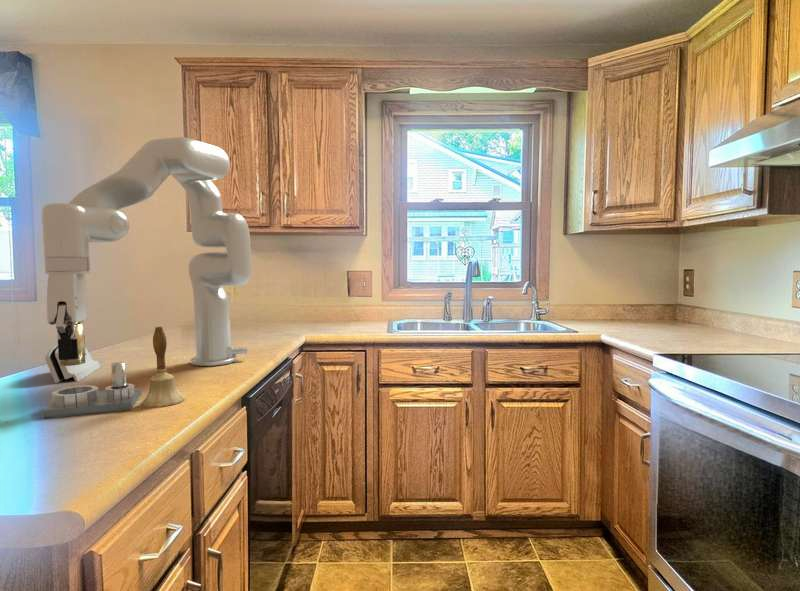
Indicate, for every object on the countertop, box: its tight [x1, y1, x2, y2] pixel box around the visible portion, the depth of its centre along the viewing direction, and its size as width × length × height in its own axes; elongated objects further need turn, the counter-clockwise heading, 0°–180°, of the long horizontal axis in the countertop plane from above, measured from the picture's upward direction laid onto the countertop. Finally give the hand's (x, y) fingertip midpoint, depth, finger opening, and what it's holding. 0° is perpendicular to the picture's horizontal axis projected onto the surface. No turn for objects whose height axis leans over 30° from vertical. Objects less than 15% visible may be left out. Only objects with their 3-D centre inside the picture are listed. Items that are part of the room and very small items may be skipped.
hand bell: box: [141, 326, 186, 408], centre depth 105 cm, size 8×8×16 cm
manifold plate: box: [42, 361, 142, 419], centre depth 103 cm, size 15×12×8 cm
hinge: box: [44, 344, 101, 384], centre depth 130 cm, size 17×5×10 cm, turn 13°
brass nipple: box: [59, 322, 86, 366], centre depth 101 cm, size 4×4×8 cm
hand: (72, 356), depth 101 cm, fingers closed on brass nipple, 4 cm apart
